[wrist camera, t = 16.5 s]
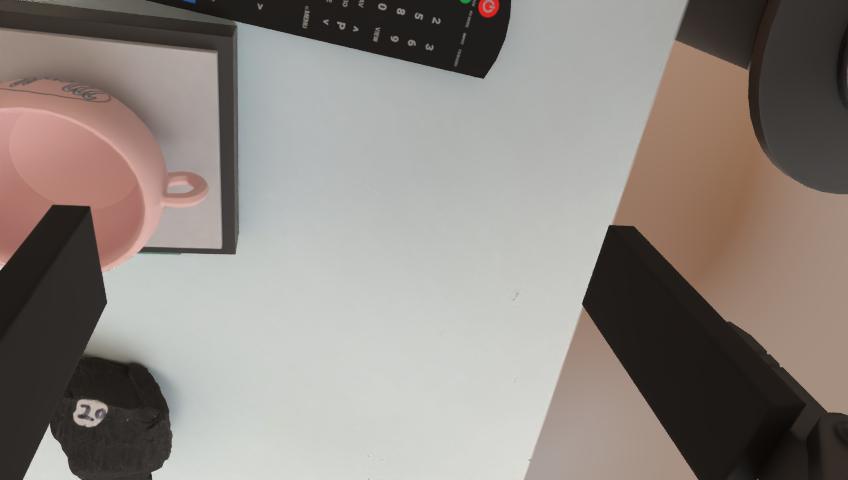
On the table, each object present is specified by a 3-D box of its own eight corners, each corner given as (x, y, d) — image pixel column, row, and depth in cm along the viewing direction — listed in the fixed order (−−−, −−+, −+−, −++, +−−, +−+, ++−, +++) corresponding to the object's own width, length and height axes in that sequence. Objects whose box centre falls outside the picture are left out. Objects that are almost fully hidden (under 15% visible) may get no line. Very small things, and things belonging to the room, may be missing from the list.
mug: (-9, 219, 33) (-62, 278, 28) (-40, 43, 28) (-110, 78, 23) (212, 236, 36) (200, 292, 31) (219, 82, 31) (205, 120, 26)
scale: (237, 26, 33) (232, 39, 30) (238, 239, 40) (234, 266, 38) (-46, -8, 30) (-81, 4, 27) (11, 232, 37) (-12, 261, 34)
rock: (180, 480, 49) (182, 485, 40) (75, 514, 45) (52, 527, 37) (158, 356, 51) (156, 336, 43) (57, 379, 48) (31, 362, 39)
